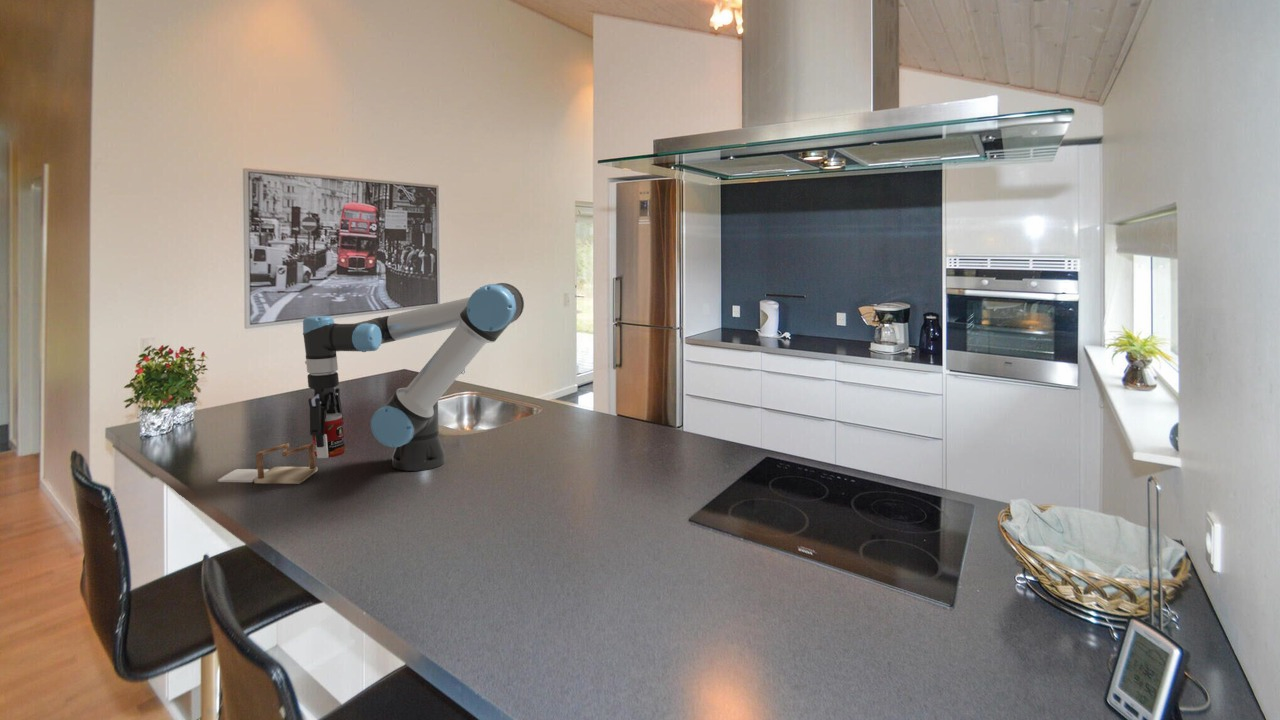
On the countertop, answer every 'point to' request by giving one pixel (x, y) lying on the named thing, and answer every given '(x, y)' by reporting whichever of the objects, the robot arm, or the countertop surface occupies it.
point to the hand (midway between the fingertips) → (329, 452)
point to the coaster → (241, 475)
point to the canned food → (333, 435)
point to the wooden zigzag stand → (285, 473)
